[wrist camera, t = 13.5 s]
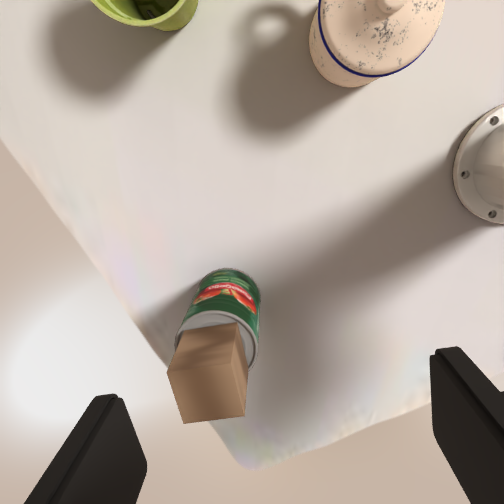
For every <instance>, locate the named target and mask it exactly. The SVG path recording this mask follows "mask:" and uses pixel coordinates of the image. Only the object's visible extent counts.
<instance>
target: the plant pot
mask: <svg viewBox="0 0 504 504" xmlns="http://www.w3.org/2000/svg"><path fill="white" fill-rule="evenodd" d="M91 2H92V3H93V4H94V5H95V6H96V7H97V8H98V9H99V10H101V11H102V12H103V13H104V14H106V15H107V16H109V17H110V18H112V19H114V20H116V21H118V22H120V23H123V24H126V25H130V26H136V27H148V26H152V27H154V28H156V29H159V30H163V31H172V30H177V29H180V28H182V27H184V26H185V25H186V24H187V23H188V22H189V21H190V20H191V19H192V17H193V15H194V13H195V11H196V8H197V5H198V0H91ZM147 10H150V12H151V13H152V14H153V15H154V16H155V17H157V18H154V19H152V18H151V17H150V16H149V15H148V13H147Z"/></svg>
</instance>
